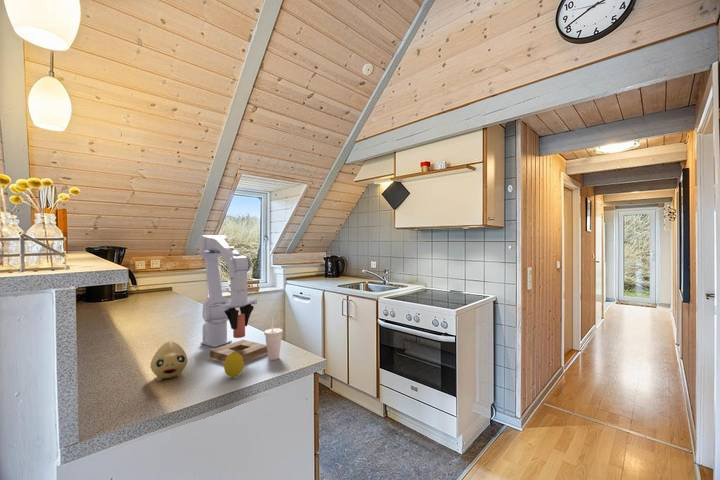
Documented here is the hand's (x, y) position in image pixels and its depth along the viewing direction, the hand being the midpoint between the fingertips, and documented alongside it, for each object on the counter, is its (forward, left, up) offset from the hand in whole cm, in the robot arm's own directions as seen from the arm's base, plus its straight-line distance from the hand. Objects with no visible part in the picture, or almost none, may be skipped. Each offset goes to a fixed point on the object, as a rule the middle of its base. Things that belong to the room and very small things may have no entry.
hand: (239, 327), depth 117 cm
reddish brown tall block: (0, 0, -3) cm, 3 cm away
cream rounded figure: (-3, -23, -11) cm, 26 cm away
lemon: (+14, -13, -11) cm, 22 cm away
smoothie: (+12, +5, -11) cm, 17 cm away
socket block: (0, 0, -10) cm, 10 cm away
